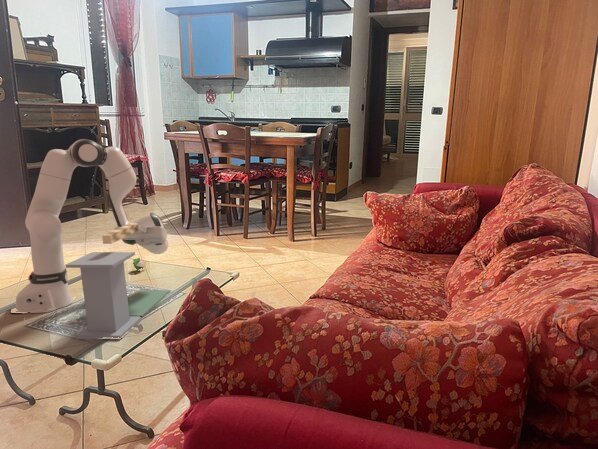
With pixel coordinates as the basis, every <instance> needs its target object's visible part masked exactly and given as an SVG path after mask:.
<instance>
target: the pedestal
mask: <svg viewBox="0 0 598 449" xmlns="http://www.w3.org/2000/svg"><path fill="white" fill-rule="evenodd" d="M135 255H136V252H135V251H115V252H114V251H103V252H101V251H92V252H90V253H88V254H85V255H83V256H81V257H79V258H77V259H75V260H73V261H70V262H69V263H67V264H65V268H66V269H74V268H75V269H79V268H80V276H81V277H80V278H81V283H82V293H83V300H84V307H85V308H84V309H85V316H86V322H87V325H86V326H85V327H83V328H82V329H80V331H78V332H77V333H75V334H74V338H75V340H99V339H98V338H103V337H113V338H118V337H119V338H121V337H122V336H123V335H124V334H125V333H126V332H127V331H129V330H130V329H131V328H132V327H133V326H135V325H136V324H137V323H138V324H140V323H141V322H142V321H143V320H142V318H143V317H140V316H129V308H128V298H129V297H128V291H127V283H126V282H127V281H126V272H125V261H127V260H129V259H131V258H132V257H134V256H135ZM141 320H142V321H141ZM138 324H137V325H138ZM137 325H136V326H137ZM136 326H135V327H136Z"/></svg>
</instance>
